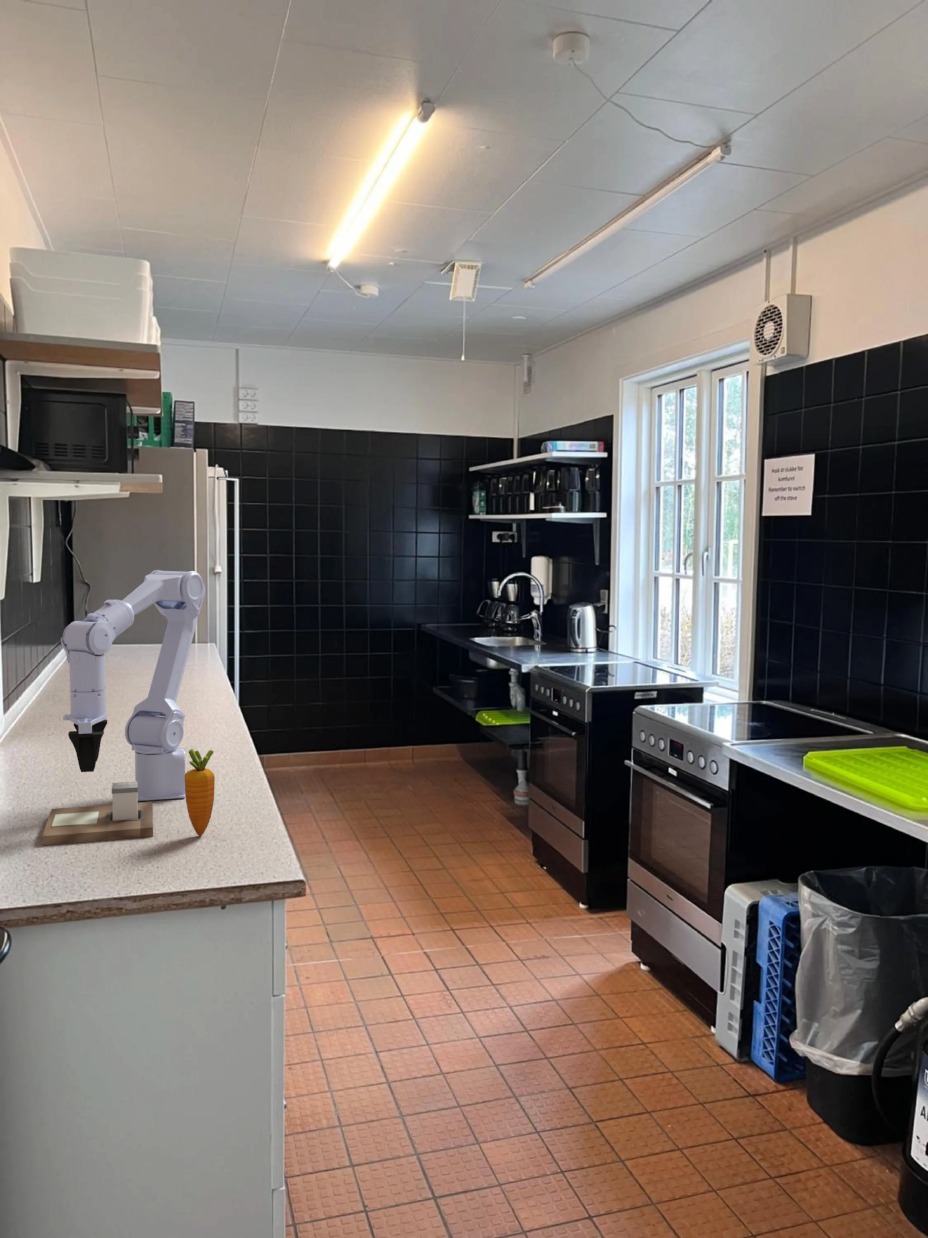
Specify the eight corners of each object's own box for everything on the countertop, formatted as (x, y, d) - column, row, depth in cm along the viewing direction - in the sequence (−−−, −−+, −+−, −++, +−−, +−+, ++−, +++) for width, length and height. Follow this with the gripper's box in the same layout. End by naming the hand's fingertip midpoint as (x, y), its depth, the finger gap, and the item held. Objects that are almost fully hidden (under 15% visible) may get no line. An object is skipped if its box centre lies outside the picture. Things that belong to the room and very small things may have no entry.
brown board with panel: (152, 809, 172) (152, 800, 172) (153, 836, 157) (152, 826, 157) (52, 817, 167) (51, 807, 167) (42, 845, 152) (42, 835, 151)
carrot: (218, 831, 160) (217, 745, 159) (211, 840, 155) (210, 751, 154) (189, 831, 160) (188, 744, 159) (181, 840, 155) (180, 751, 154)
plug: (138, 820, 166) (138, 781, 165) (138, 827, 162) (137, 787, 161) (113, 822, 164) (112, 783, 164) (112, 829, 160) (111, 789, 160)
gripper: (67, 684, 169) (68, 758, 171) (58, 697, 156) (60, 777, 157) (109, 683, 172) (110, 756, 173) (103, 695, 158) (105, 775, 159)
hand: (89, 766), depth 165 cm, fingers open, 7 cm apart
